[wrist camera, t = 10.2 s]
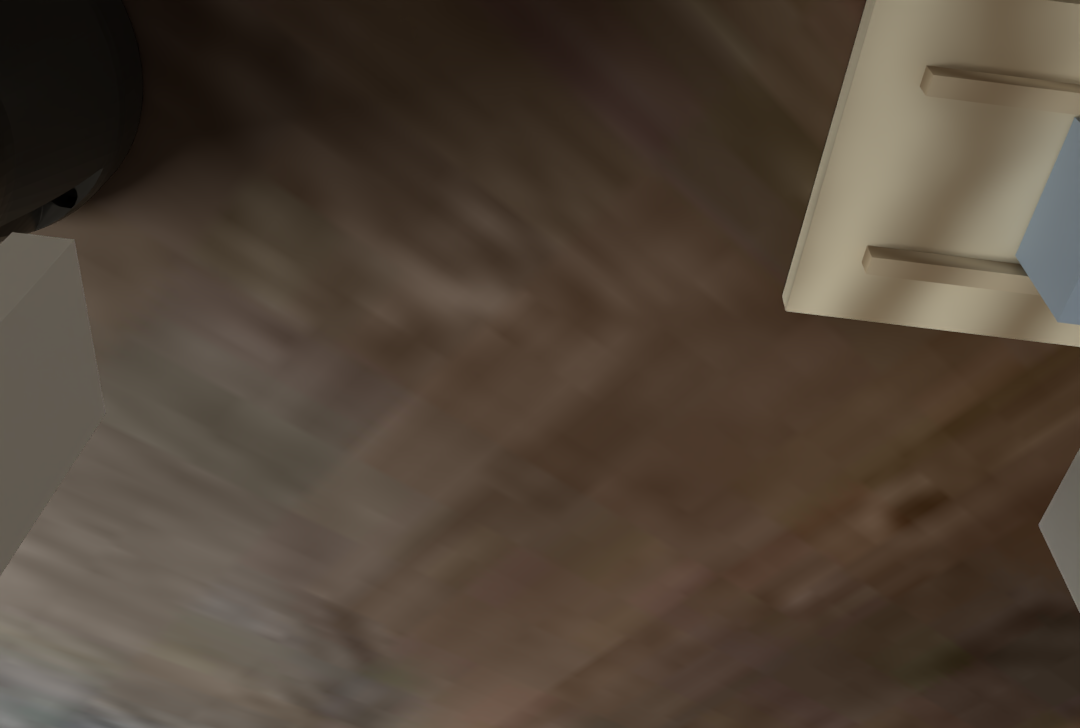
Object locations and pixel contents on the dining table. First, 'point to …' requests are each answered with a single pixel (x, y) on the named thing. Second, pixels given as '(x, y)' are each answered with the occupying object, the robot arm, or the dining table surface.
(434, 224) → the dining table surface
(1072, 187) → the carriage
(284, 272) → the dining table surface
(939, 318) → the board
